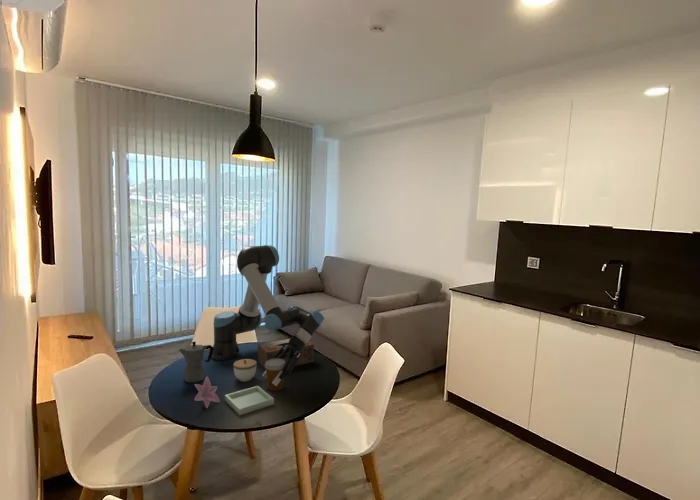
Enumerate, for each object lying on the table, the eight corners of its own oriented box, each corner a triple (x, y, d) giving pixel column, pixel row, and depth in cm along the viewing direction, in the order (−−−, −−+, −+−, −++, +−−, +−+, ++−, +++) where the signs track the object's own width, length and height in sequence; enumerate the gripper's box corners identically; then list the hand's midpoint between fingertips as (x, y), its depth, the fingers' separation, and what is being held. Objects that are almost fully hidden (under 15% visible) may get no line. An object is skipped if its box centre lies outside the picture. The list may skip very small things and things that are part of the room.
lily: (189, 415, 156) (199, 396, 154) (183, 393, 164) (192, 375, 162) (217, 414, 163) (227, 396, 162) (210, 393, 172) (219, 376, 170)
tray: (224, 400, 165) (224, 395, 165) (257, 391, 175) (257, 385, 175) (239, 415, 154) (239, 409, 154) (273, 404, 163) (273, 398, 163)
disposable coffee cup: (273, 394, 172) (273, 368, 171) (260, 387, 178) (260, 362, 177) (290, 387, 179) (290, 361, 178) (277, 380, 185) (277, 356, 184)
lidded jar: (228, 380, 185) (228, 361, 184) (244, 372, 195) (244, 354, 194) (246, 385, 180) (245, 365, 179) (261, 377, 190) (261, 358, 189)
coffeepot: (178, 384, 180) (177, 346, 178) (180, 376, 189) (179, 339, 187) (214, 380, 185) (213, 343, 183) (214, 372, 194) (213, 336, 192)
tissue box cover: (302, 353, 222) (302, 336, 221) (313, 362, 210) (313, 344, 209) (258, 362, 209) (257, 343, 208) (266, 371, 197) (266, 352, 196)
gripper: (317, 350, 178) (286, 393, 170) (292, 338, 195) (263, 377, 186) (307, 341, 174) (275, 385, 166) (283, 329, 191) (253, 368, 183)
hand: (269, 380), depth 176 cm, fingers closed on disposable coffee cup, 9 cm apart
